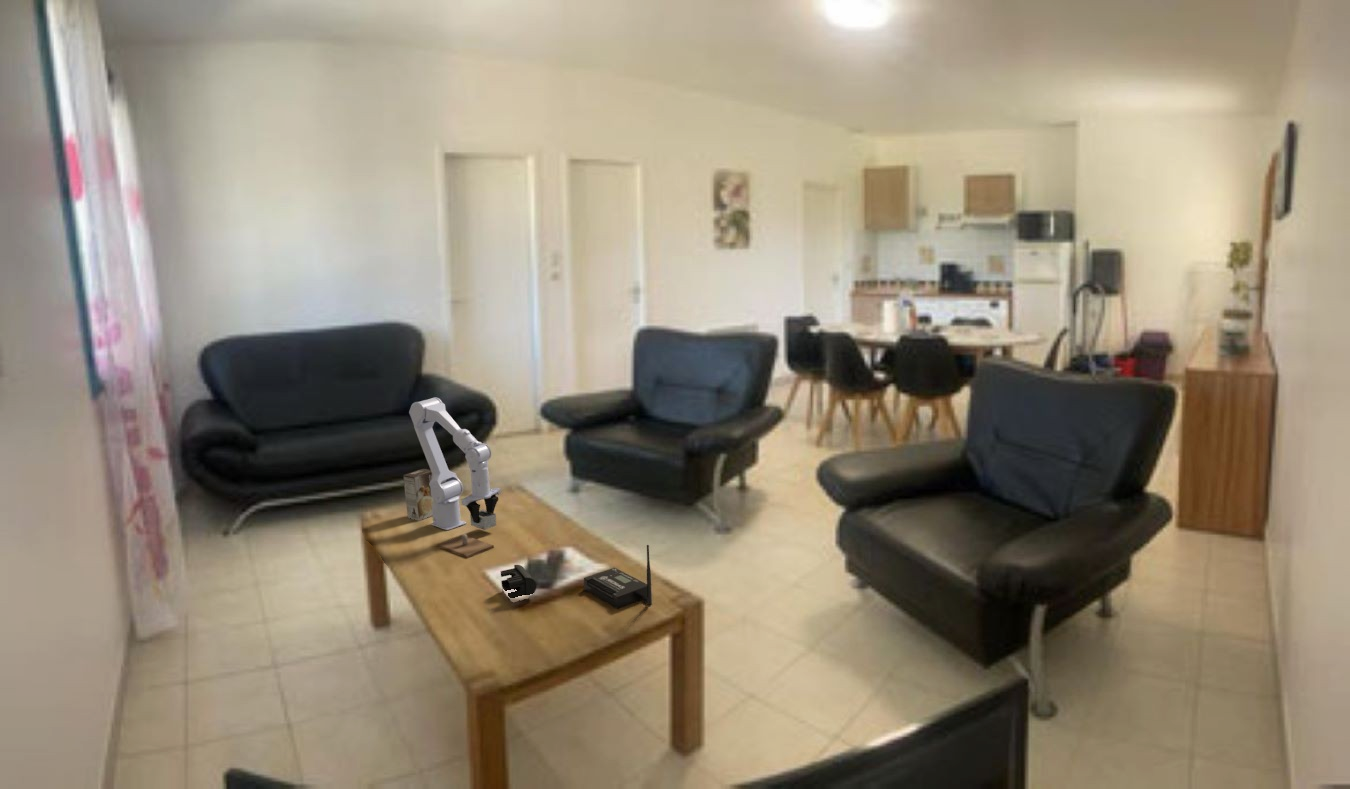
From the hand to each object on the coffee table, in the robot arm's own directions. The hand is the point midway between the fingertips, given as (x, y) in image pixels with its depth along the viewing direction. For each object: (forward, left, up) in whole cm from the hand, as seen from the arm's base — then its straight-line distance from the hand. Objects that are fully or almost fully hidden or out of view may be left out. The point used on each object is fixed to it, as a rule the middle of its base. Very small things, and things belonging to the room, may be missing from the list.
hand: (483, 520), depth 265 cm
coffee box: (-31, -3, -4) cm, 31 cm away
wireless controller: (+70, -8, -5) cm, 71 cm away
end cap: (+47, -24, -4) cm, 53 cm away
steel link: (0, 0, -2) cm, 2 cm away
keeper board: (+6, -12, -4) cm, 14 cm away
